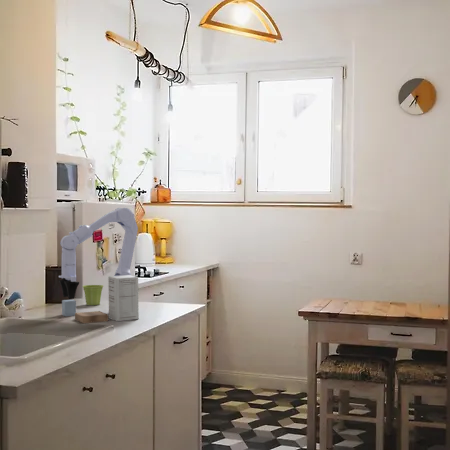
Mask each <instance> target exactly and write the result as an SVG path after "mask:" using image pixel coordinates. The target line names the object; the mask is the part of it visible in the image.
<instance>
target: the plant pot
mask: <svg viewBox="0 0 450 450" xmlns="http://www.w3.org/2000/svg"><path fill="white" fill-rule="evenodd" d="M103 287H104V285H101V284H87V285H86V284H85V285H82V288H83V291H84V298H85V303H86V304H85V305H86V306H100V305H101V297H102V291H103Z"/></svg>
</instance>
